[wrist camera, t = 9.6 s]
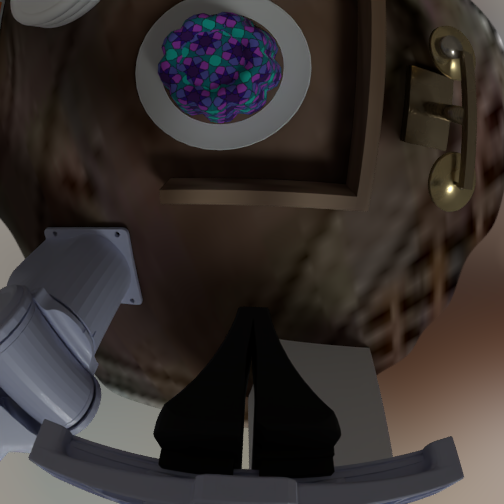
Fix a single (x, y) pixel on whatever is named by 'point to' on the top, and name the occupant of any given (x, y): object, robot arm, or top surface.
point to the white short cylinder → (49, 11)
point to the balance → (444, 116)
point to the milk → (342, 398)
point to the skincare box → (1, 9)
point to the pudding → (222, 71)
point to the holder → (361, 149)
